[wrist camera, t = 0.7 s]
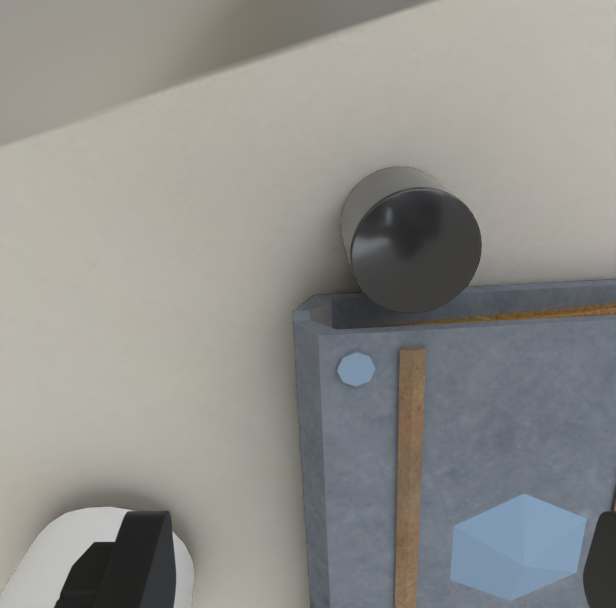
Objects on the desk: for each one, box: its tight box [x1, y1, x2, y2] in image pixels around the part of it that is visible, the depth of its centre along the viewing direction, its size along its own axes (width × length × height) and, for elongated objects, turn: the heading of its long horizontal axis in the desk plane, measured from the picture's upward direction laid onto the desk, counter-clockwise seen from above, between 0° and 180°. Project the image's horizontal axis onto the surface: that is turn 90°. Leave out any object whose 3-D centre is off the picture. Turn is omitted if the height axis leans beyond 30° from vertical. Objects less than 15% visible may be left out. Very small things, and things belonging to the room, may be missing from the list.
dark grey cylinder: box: [341, 166, 482, 313], centre depth 21 cm, size 4×4×4 cm
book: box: [293, 279, 616, 608], centre depth 26 cm, size 21×16×5 cm
